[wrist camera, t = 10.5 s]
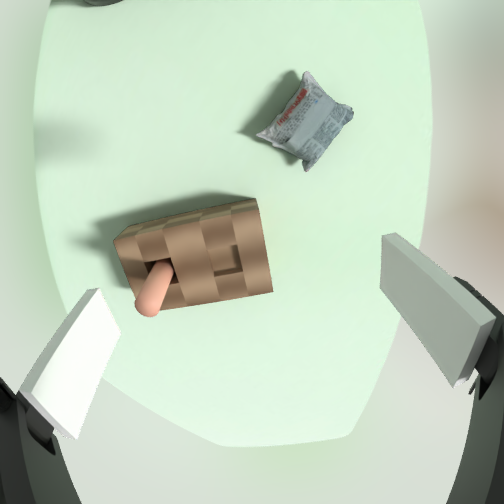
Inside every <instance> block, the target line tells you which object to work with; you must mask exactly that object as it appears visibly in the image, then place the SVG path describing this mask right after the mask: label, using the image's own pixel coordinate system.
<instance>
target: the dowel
mask: <svg viewBox="0 0 504 504" xmlns="http://www.w3.org/2000/svg"><path fill="white" fill-rule="evenodd" d="M174 271H175V269H174V266H173V263H172V260H171V257H169V258H164V259H159V260H157V261H156V262H155V264H154V266H153V268H152V270H151V272H150V273H149V275H148V277H147V279H146V281H145V283H144V284H143V286H142V288H141V290H140V292H139V294H138V296H137V298H136V300H135V308H136V310H137V311H138V312H139V313H140V314H142V315H144V316H146V317H153V316H155V315H157V314H158V312H159V310H160V307H161V305H162V302H163V299H164V297H165V294H166V291H167V289H168V286H169V284H170V281H171V278H172V276H173V273H174Z"/></svg>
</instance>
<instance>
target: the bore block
mask: <svg viewBox="0 0 504 504" xmlns="http://www.w3.org/2000/svg"><path fill="white" fill-rule="evenodd" d="M113 242H114V245H115V248H116V250H117V253H118V256H119V258H120V261H121V264H122V266H123V269H124V271H125V274H126V276H127V279H128V281H129V284H130V286H131V289H132V291H133V293H134V296H135V298H137V296H138V294H139V292H140V290H141V288H142V286H143V284H144V283H145V281H146V279H147V277H148V275H149V273H150V272H151V270H152V268H153V266H154V264H155V262H156V261H157V260H159V259H164V258H169V257H171V260H172V263H173V266H174V269H175V271H174V273H173V276H172V278H171V281H170V284H169V286H168V289H167V291H166V294H165V297H164V299H163V302H162V305H161V307H160V310H167V309H174V308H181V307H187V306H194V305H200V304H207V303H213V302H219V301H225V300H231V299H237V298H242V297H248V296H254V295H259V294H265V293H270V292H273V287H272V281H271V275H270V269H269V263H268V258H267V252H266V246H265V241H264V235H263V229H262V224H261V218H260V213H259V208H258V204H257V201H256V198H255V199H250V200H245V201H239V202H234V203H229V204H224V205H219V206H214V207H210V208H205V209H200V210H196V211H191V212H187V213H182V214H178V215H173V216H169V217H165V218H160V219H156V220H152V221H148V222H144V223H140V224H136V225H132V226H128V227H127V228H126V229H125V230H124V231H123V232H122V233H121V234H120V235H119V236H118V237H117V238H115V239H114V240H113ZM160 310H159V311H160Z"/></svg>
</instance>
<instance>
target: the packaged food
mask: <svg viewBox="0 0 504 504" xmlns="http://www.w3.org/2000/svg"><path fill="white" fill-rule="evenodd" d="M353 114H354V113H353V111H352V108H351V107H349V106H347V105H343V104H339V103H337V102H335V101H334V100H333V99H332V98H331V97H330V96H328V95H327V94H326V93H325V92H324V90H323V89H322V88H321V87H320V86H319V84H318V83H317V82H316V81H315V79H314V78H313V76H312V75H311V74H310V72H308V71H306V72H304V74H303V76H302V80H301V84H300V88H299V89H298V90H297V92H296V93H295V94H294V95H293V96H292V98H291V99H290V100H289V102H288V103H287V105H286V107H285V109H284V111H283V112H282V113H281V114H278V115H277V116H276V117H275V119H274V120H273V121H272V122H271V124H270V125H269V126H268V127H266V128H265V129H264V130H262V131H261V132H259V133H257V134H256V136H258V137H260V138H263V139H265V140H267V141H270V142H272V143H273V144H272V145H273V146H274V147H277V148H281V149H284V150H286V151H288V152H290V153H291V154H293V155H295V156H297V157H298V158H299V159H302V160H303V161H302V165H303V168H304V171H305V172H307V171H308V170H309V169H310V168H311V167H312V166H313V165H314V164H315V163H316V162H317V160H318V159H319V158H320V157H321V155H322V154H323V153H324V151H325V150H326V149H327V147H328V146H329V145H330V143H331V142H332V140H333V139H334V138H335V137H336V136H337V135H338V133H339V132H340V131H341V129H342V128H343V126H344V125H345V124H346V123H348V122H349V121H350V120H352V118H353Z"/></svg>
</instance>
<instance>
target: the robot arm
mask: <svg viewBox="0 0 504 504" xmlns="http://www.w3.org/2000/svg"><path fill="white" fill-rule="evenodd" d="M84 1H85V2H87V3H89V4H91V5H95V6H104V5H110V4H114V3H117V2H120V1H122V0H84ZM380 289H381V290H382V291H383V293H384V294H385V295H386V296H387V298H388V299H389V300H390V301H391V303H392V304H393V305H394V307H395V308H396V309H397V310H398V312H399V313H400V314H401V316H402V317H403V318H404V320H405V321H406V322H407V323H408V325H409V326H410V328H411V329H412V330H413V331H414V333H415V334H416V336H417V337H418V338H419V340H420V341H421V342H422V344H423V345H424V347H425V348H426V349H427V351H428V352H429V354H430V355H431V357H432V358H433V359H434V361H435V362H436V364H437V365H438V367H439V368H440V370H441V371H442V373H443V374H444V376H445V377H446V379H447V380H448V382H449V383H450V385H451V386H452V388H454V387H456V386H458V385H460V384H461V383H463V382H465V381H467V380H468V379H469V378H470V376H471V374H472V372H473V370H474V368H475V369H476V370H477V371H478V373H479V374H478V376H477V378H476V380H475V382H474V383H473V385H472V387H471V389H470V391H469V394H471V393H472V392H473V390H474V388H475V395H474V402H473V408H472V414H471V420H470V425H469V430H468V435H467V440H466V444H465V448H464V452H463V455H462V459H461V463H460V466H459V469H458V473H457V476H456V479H455V482H454V485H453V487H452V490H451V493H450V495H449V498H448V501H447V503H446V504H504V315H503V314H502V313H501V312H500V311H499V310H498V309H497V308H496V307H495V306H494V305H492V304H491V303H490V302H489V301H488V300H487V299H486V298H485V297H484V296H483V297H482V295H481V294H480V293H479V292H478V291H477V290H476V291H475V288H473V287H472V286H471V285H470V284H469V283H468V282H466V281H464V280H462V279H460V278H458V277H451V276H450V275H449V274H448V273H447V272H446V271H444V270H443V269H442V268H441V267H440V266H438V265H437V264H436V263H435V262H433V261H432V260H431V259H430V258H429V257H427V256H426V255H425V254H423V253H422V252H421V251H420V250H418V249H417V248H416V247H414V246H413V245H412V244H410V243H409V242H408V241H406V240H405V239H404V238H402V237H401V236H400V235H398V234H397V233H392V234H387V235H382V253H381V277H380ZM120 335H121V331H120V329H119V327H118V325H117V323H116V322H115V320H114V318H113V316H112V314H111V312H110V310H109V308H108V306H107V303H106V301H105V299H104V297H103V295H102V293H101V291H100V288H95V289H90V290H87V291H86V292H85V294H84V295H83V296H82V297H81V299H80V300H79V301H78V303H77V304H76V305H75V307H74V308H73V309H72V311H71V312H70V313H69V315H68V316H67V317H66V319H65V320H64V321H63V323H62V324H61V326H60V327H59V328H58V330H57V331H56V333H55V334H54V335H53V337H52V338H51V340H50V341H49V343H48V344H47V346H46V348H45V349H44V350H43V352H42V353H41V355H40V356H39V358H38V359H37V361H36V363H35V364H34V366H33V367H32V369H31V371H30V372H29V374H28V375H27V377H26V379H25V380H24V382H23V384H22V385H21V387H20V389H19V391H18V392H17V394H16V395H15V394H14V393H13V392H12V390H11V389H10V388H9V387H8V386H7V384H6V383H5V382H4V381H3V379H1V377H0V504H82V503H81V501H80V499H79V497H78V495H77V492H76V490H75V488H74V485H73V483H72V480H71V478H70V475H69V473H68V470H67V467H66V464H65V461H64V459H63V456H62V453H61V449H60V446H59V443H58V440H57V438H56V436H55V435H54V434H53V430H54V428H55V429H56V430H57V431H58V432H59V433H60V434H61V435H63V437H67V438H71V439H76V440H77V439H78V436H79V433H80V430H81V428H82V425H83V422H84V419H85V417H86V414H87V411H88V409H89V406H90V404H91V401H92V399H93V396H94V393H95V391H96V389H97V386H98V384H99V382H100V379H101V377H102V375H103V372H104V370H105V368H106V365H107V363H108V361H109V359H110V357H111V354H112V352H113V350H114V348H115V346H116V343H117V341H118V339H119V337H120Z"/></svg>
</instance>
